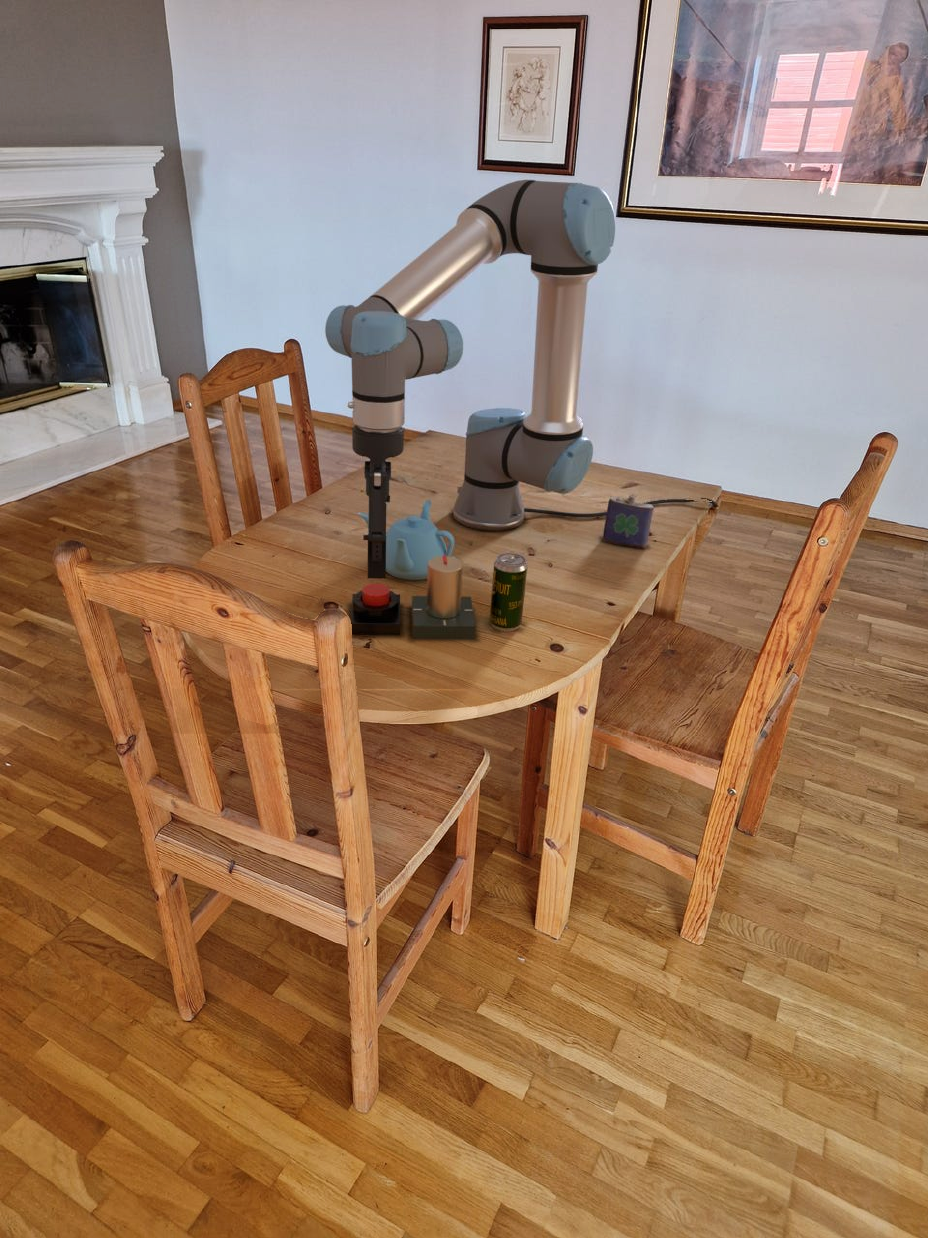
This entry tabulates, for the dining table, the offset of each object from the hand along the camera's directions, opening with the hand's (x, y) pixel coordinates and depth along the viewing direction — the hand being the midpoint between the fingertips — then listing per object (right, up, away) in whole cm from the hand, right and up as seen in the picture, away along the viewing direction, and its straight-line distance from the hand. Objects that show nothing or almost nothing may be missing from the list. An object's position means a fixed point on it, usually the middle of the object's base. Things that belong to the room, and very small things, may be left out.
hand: (377, 558), depth 128 cm
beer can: (+21, -11, +7) cm, 24 cm away
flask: (+47, +6, +39) cm, 61 cm away
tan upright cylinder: (+10, -8, +5) cm, 14 cm away
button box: (-1, -10, +6) cm, 11 cm away
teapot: (+3, 0, +24) cm, 24 cm away
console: (+10, -10, +6) cm, 16 cm away
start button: (-1, -7, +4) cm, 8 cm away
